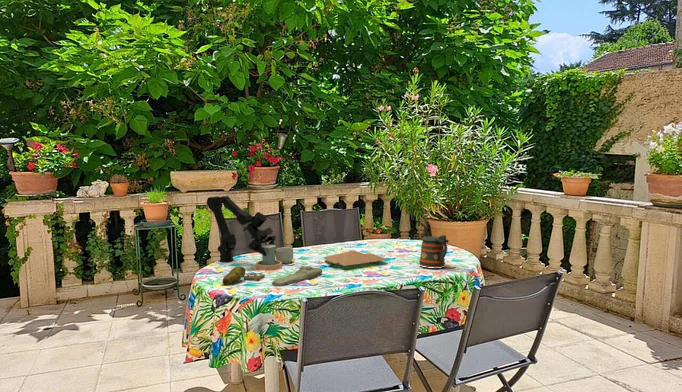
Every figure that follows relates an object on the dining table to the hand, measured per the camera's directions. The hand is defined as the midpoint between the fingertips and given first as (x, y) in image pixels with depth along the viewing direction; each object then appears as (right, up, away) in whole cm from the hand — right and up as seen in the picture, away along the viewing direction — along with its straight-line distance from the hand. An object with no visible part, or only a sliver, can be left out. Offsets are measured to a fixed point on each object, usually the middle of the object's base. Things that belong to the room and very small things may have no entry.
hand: (270, 254), depth 276 cm
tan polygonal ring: (-1, -8, +2) cm, 8 cm away
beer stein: (+92, -9, +9) cm, 93 cm away
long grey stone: (+17, -11, -20) cm, 29 cm away
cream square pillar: (-1, -8, +2) cm, 8 cm away
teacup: (+6, -7, +17) cm, 19 cm away
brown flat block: (+46, -8, +15) cm, 49 cm away
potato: (-14, -11, -29) cm, 34 cm away
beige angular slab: (-7, -10, -23) cm, 26 cm away
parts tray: (-5, -10, -22) cm, 25 cm away
